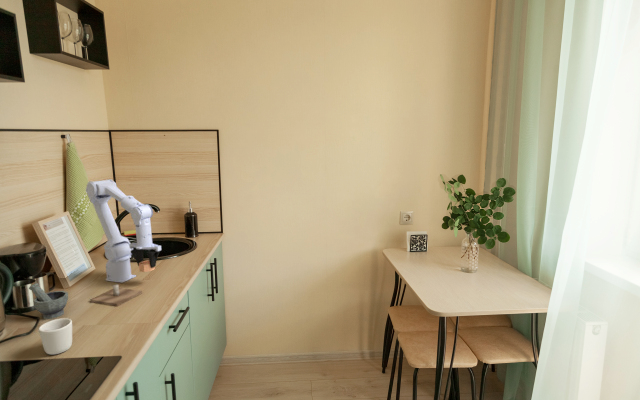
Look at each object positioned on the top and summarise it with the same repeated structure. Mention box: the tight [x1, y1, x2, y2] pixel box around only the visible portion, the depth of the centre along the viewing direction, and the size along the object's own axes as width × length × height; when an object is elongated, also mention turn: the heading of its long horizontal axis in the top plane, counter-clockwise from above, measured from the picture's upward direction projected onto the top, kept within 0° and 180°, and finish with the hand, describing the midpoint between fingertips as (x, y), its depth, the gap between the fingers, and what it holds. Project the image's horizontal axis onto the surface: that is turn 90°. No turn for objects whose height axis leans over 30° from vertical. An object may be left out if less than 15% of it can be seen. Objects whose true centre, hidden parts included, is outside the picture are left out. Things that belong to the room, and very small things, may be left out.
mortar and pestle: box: [28, 282, 69, 320], centre depth 130 cm, size 11×9×12 cm
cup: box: [38, 317, 73, 355], centre depth 110 cm, size 11×8×8 cm
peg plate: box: [89, 283, 143, 307], centre depth 144 cm, size 13×12×5 cm
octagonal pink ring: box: [138, 259, 156, 273], centre depth 155 cm, size 6×6×3 cm
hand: (146, 266), depth 155 cm, fingers closed on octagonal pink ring, 6 cm apart
